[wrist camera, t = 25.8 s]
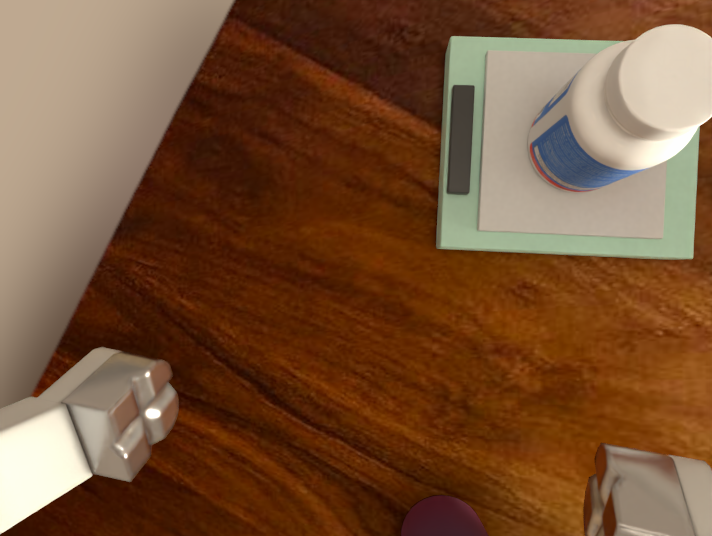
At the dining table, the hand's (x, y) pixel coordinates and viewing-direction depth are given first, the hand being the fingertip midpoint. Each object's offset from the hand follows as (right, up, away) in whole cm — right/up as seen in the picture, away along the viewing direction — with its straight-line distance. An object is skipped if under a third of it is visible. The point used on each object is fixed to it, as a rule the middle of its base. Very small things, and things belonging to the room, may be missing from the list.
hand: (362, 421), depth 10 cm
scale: (+12, +10, +22) cm, 27 cm away
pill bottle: (+12, +10, +19) cm, 25 cm away
